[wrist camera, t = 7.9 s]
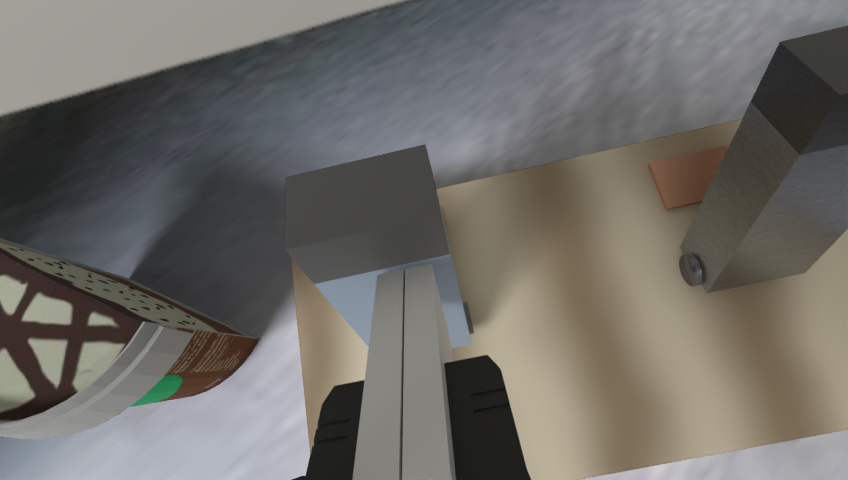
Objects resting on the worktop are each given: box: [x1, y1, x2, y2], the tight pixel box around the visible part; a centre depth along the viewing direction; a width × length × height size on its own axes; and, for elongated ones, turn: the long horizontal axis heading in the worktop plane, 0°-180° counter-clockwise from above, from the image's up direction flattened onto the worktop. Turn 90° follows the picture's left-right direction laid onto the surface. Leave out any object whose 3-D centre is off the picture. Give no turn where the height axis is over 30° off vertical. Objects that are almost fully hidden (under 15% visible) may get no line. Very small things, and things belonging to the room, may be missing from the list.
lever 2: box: [679, 26, 848, 293], centre depth 16 cm, size 4×2×11 cm, turn 101°
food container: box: [0, 238, 259, 439], centre depth 21 cm, size 12×6×10 cm, turn 67°
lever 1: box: [285, 145, 474, 348], centre depth 16 cm, size 4×2×11 cm, turn 101°
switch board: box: [291, 119, 848, 480], centre depth 22 cm, size 26×14×3 cm, turn 101°
